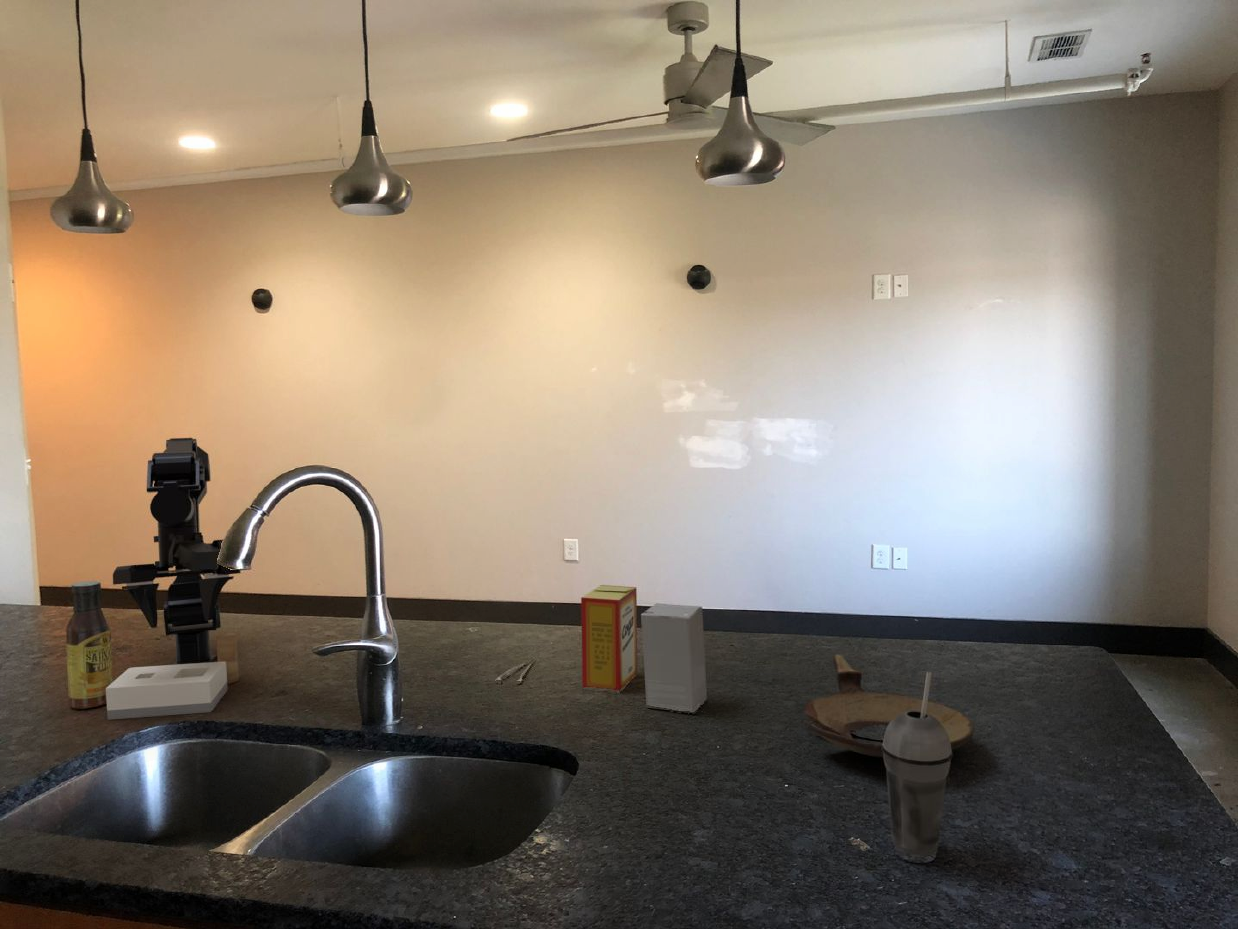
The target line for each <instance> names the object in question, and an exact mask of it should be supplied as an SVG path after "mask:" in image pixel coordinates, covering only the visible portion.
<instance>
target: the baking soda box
mask: <svg viewBox="0 0 1238 929" xmlns="http://www.w3.org/2000/svg"><path fill="white" fill-rule="evenodd" d="M637 593H638V592H637V587H635V586H623V585H622V586H620V585H609V584H607V585H606V584H601V585H598V586H597V587H595V588H594V589H592V590H591V591H590V592H588V593H586V594H585V595H583V596H582V597H580V608H581V610H580V611H581V612H580V614H581V616H580V617H581V660H582V661H581V663H582V665H581V666H582V667H581V668H582V673H581V674H582V688H583V687H596V688H604V689H605V688H606V689H613V690H619V691H620V689H621V688H622V687H624V686H625V685H626V683H627V682H628V681H630V680H631V679H632V677H633V676H634V675H636V674H637V675H638V621H637V620H638V614H637V612H638V610H637V609H638V607H637V604H638V603H637V602H638V600H637Z"/></svg>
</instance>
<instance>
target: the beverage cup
mask: <svg viewBox="0 0 1238 929" xmlns="http://www.w3.org/2000/svg"><path fill="white" fill-rule="evenodd" d="M931 680H932V672H929V671H926V676H925V684H924V687H923V688H924V689H923V697H922V700H923V702H922V709H921V711H907V712H904V713H901V714H899V715H898V716H897V717H895V718H894V719H893V720H892V721H891V722H890V723H889V725H888V726H887V728H886V731H885V734H884V738H883V742H881V744H882V747H881V748H882V750H883V757H882V758H883V763H884V767H885V769H886V770H885V771H886V783H887V786H886V787H887V798H888V811H889V813H888V814H889V824H890V825H889V826H890V837H891V842H893V844H894V846H896V848H898V849H899V850H901V851H903V852H907V853H910V854H914V855H920V856H922V855H923V856H925V855H927V856H928V855H931V854H933V853H935V852H936V851H937V852H938V846H939V844H940V834H941V827H942V818H943V817H942V816H943V812H944V811H943V810H944V801H945V793H946V786H947V785H946V784H947V776H948V775H949V771H950V767H951V760H952V759H953V749H952V750H951V743H950V739H949V736H948V733H947V732H946V730H945V728H944V727H943V726H942V724H941V723H940V722H939V721H938V720H937V719H936V718H934V717H933V716H931V715H929V714H927V713H926V710H927V702H928V701H929V695H930V687H931ZM893 844H892V845H893Z"/></svg>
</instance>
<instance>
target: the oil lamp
mask: <svg viewBox="0 0 1238 929" xmlns="http://www.w3.org/2000/svg"><path fill="white" fill-rule="evenodd" d="M833 665H834V670H835V673H836V679H837V680H836V681H837V685H838V690H839V693H837V694H833V695H827V696H821V697H819V698H816V699H813V700H810V701H809V702H808V703H807V704H806V707H805V711H804V715H805V716H806V717H807V718H808V719H809V720H810V721H812V722H813V723H814V724H816V725H817V726H816V725H814V724H813V723H808V724H807V729H808V730H810V731H811V732H812V733H814V734H816V735H817V736H819V737H821V738H822V739H824V740H826V741H828V742H830V743H832V744H834V745H837V746H839V747H842V748H844V749H845V750H850V751H852V752H854V753H857V754H861V755H865V756H869V757H870V756H871V757H875V758H877V757H878V758H883V750H882V748H881V747H882V743H878V744H876V743H869V742H864V741H860V740H857V739H854V738H853V735H852V734H850V732H856V730H862V729H863V728H865V727H868V726H869V727H870V726H871V727H873V726H874V725H877V726H879V725H885V726H888V725H889V723H890V722H891V721H892V720H893V719H894V718H895V717H897V716H898V715H899V714H901V713H904V712H907V711H921V709H922V702H923V699H919V698H915V697H909V696H903V695H899V694H894V693H893V694H891V693H884V692H883V693H881V692H869V691H865V690H864V689H863V688H862V682H861V681H862V678H863V677H862V671H859V670H855V669H853V668H852V666H851V665H850V664H849V663H848V661H847V660H846V659H845V658H844V656H843V655H841V654H839V653H836V654H834V656H833ZM926 713H927V714H929V715H931V716H933V717H934V718H936V719H937V720H938V721H939V722H940V723H941V724H942V726H943V727H944V728H945V730H946V732H947V733H948V736H949V739H950V743H951V750H952V751H953V750H954V749H957V748H960V747H961V746H963V745H965V744H967V743H968V742H970V741H971V739H972V737H973V735H974V731H975V728H974V727H975V726H974V723H973V721H972V720H971V719H970V718H969V717H968V716H966V715H964V713H962V712H961V711H960V710H957V709H954V708H951V707H949V706H947V705H944V704H942V703H937V702H935V701H929V700H928V702H927V710H926ZM818 726H819V727H818Z"/></svg>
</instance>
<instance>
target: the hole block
mask: <svg viewBox="0 0 1238 929" xmlns="http://www.w3.org/2000/svg"><path fill="white" fill-rule="evenodd" d="M228 691H229V690H228V684H227V671H226V661H224V662H218V661H212V662H209V663H194V664H179V665H171V664H167V665H165V664H164V665H163V664H162V665H152V666H151V665H150V666H149V665H147V666H136V667H134V666H133V667H129V668H127V669H126V670H125V671H124V672H122V673H121V674H120V675H119V676H118V677H117V678H116V679H114V680H113V682H112V683H111V684H110V685H109V686H108V687H107V688H106V701H107V704H106V711H107V712H106V714H107V721H108V720H109V721H110V720H111V721H112V720H123V719H125V720H126V719H135V718H136V719H137V718H149V717H150V718H151V717H165V716H175V715H177V716H178V715H189V714H191V715H192V714H203V713H212V712H213V711H214V709H215V708H216V707H217V705H218V703H219V702H220V701H221V700H222V699H223V697H224V695H226V693H227V692H228ZM220 699H221V700H220ZM211 711H212V712H211Z"/></svg>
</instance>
